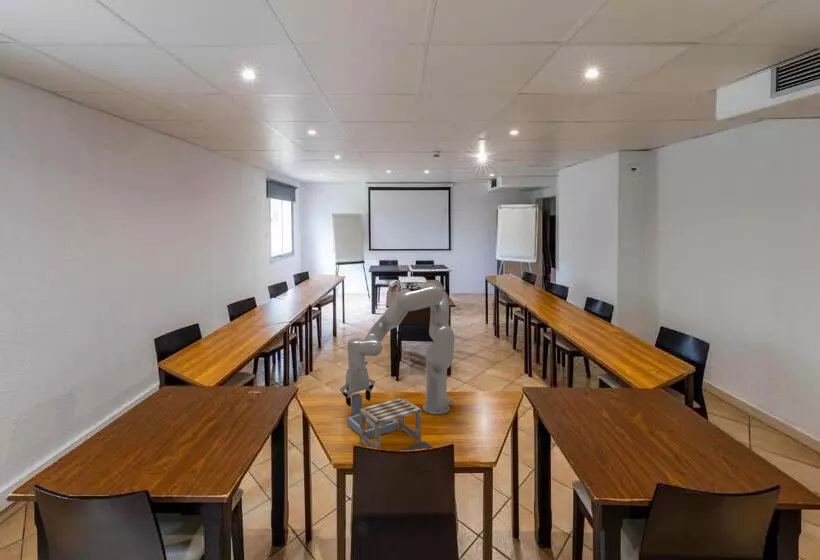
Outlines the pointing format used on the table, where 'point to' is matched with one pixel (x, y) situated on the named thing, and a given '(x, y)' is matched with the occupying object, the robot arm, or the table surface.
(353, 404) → the tray with upright post
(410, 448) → the pit mat
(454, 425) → the table surface
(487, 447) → the table surface
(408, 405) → the tunnel
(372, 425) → the die
